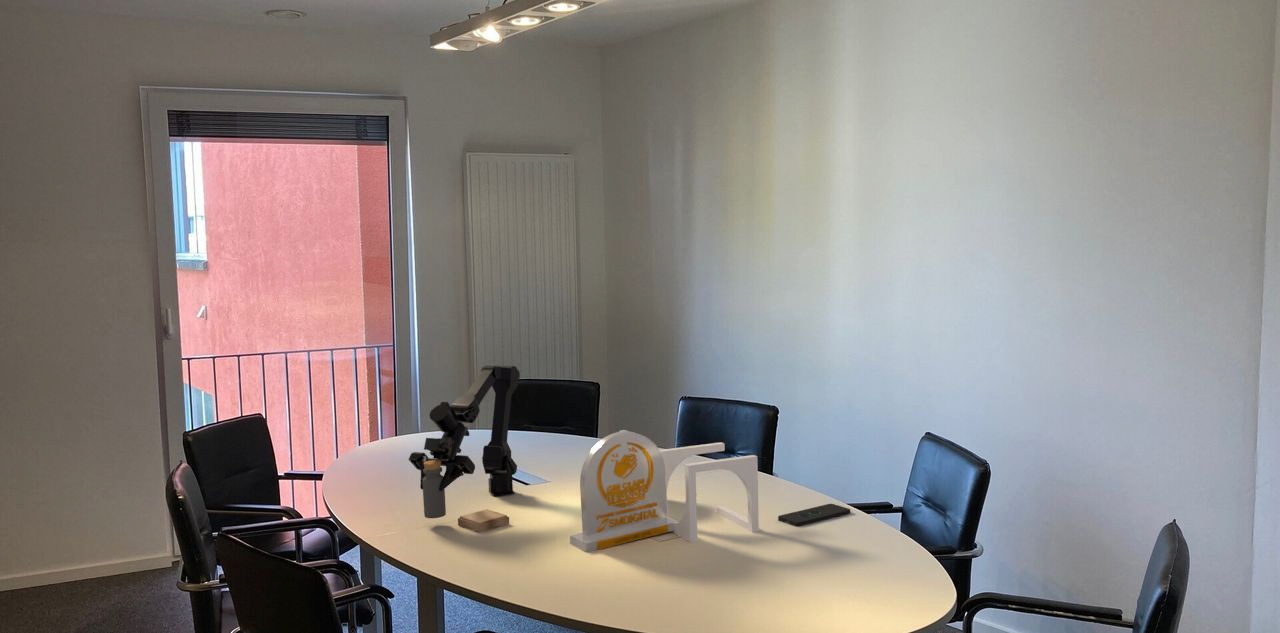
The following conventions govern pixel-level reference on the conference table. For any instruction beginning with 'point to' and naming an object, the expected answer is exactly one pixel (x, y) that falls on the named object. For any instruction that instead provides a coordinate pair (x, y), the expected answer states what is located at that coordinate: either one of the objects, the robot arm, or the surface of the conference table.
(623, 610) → the conference table surface
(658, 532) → the award
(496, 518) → the plinth
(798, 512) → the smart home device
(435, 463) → the bottle
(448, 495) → the conference table surface
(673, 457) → the white arched frame
